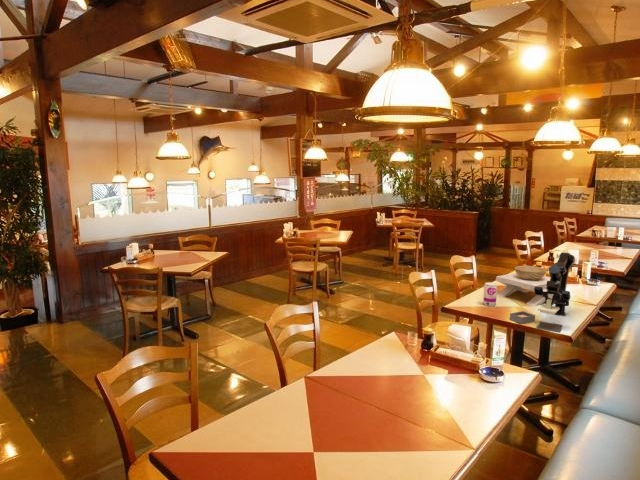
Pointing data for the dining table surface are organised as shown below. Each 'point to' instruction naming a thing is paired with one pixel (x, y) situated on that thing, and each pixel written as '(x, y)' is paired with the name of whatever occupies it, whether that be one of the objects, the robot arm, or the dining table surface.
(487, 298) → the supplement can
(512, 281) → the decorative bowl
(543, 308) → the lid
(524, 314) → the storage box
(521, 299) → the dining table surface
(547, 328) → the rubber mat
